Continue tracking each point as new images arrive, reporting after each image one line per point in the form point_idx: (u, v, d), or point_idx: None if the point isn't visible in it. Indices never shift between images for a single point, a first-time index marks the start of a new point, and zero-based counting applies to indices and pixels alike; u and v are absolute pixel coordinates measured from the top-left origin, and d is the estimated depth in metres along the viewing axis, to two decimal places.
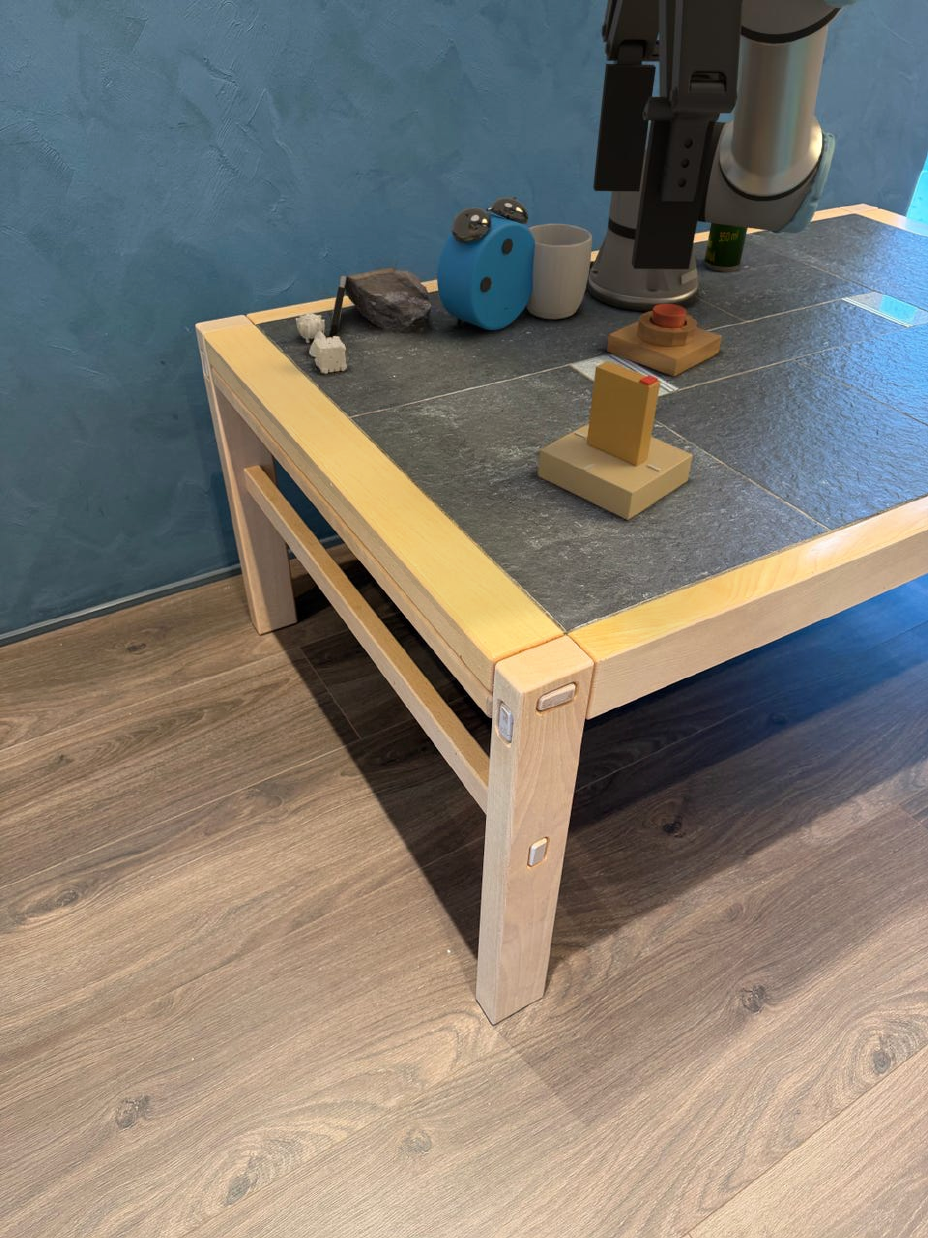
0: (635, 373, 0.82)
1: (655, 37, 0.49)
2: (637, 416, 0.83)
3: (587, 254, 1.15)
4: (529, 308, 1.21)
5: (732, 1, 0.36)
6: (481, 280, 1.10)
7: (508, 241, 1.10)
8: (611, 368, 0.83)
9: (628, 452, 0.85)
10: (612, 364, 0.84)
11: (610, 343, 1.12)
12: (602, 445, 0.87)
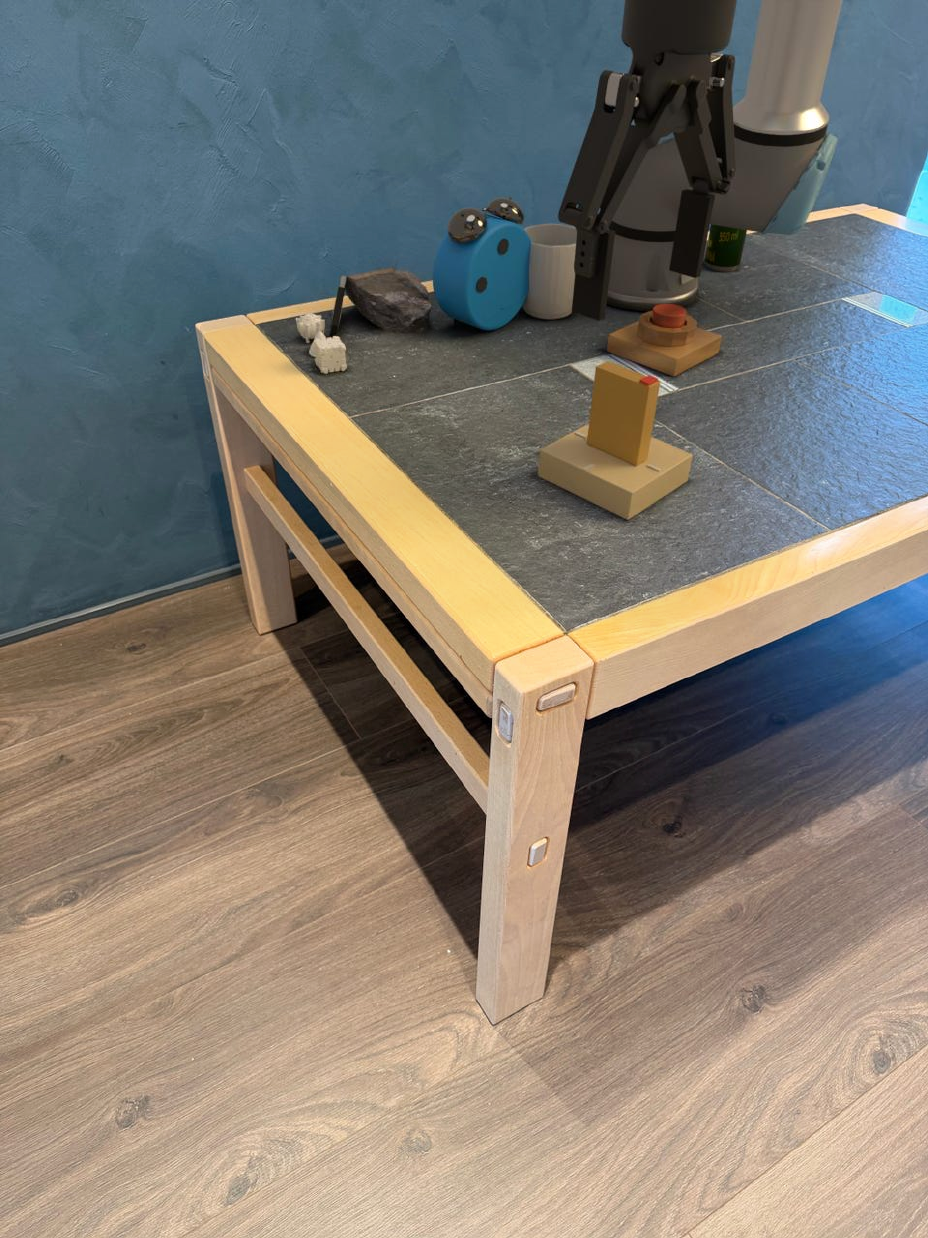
0: (635, 373, 0.82)
1: (709, 178, 0.73)
2: (637, 416, 0.83)
3: None
4: (525, 308, 1.21)
5: (598, 168, 0.62)
6: (476, 280, 1.10)
7: (504, 241, 1.10)
8: (611, 368, 0.83)
9: (628, 452, 0.85)
10: (612, 364, 0.84)
11: (610, 343, 1.12)
12: (602, 445, 0.87)
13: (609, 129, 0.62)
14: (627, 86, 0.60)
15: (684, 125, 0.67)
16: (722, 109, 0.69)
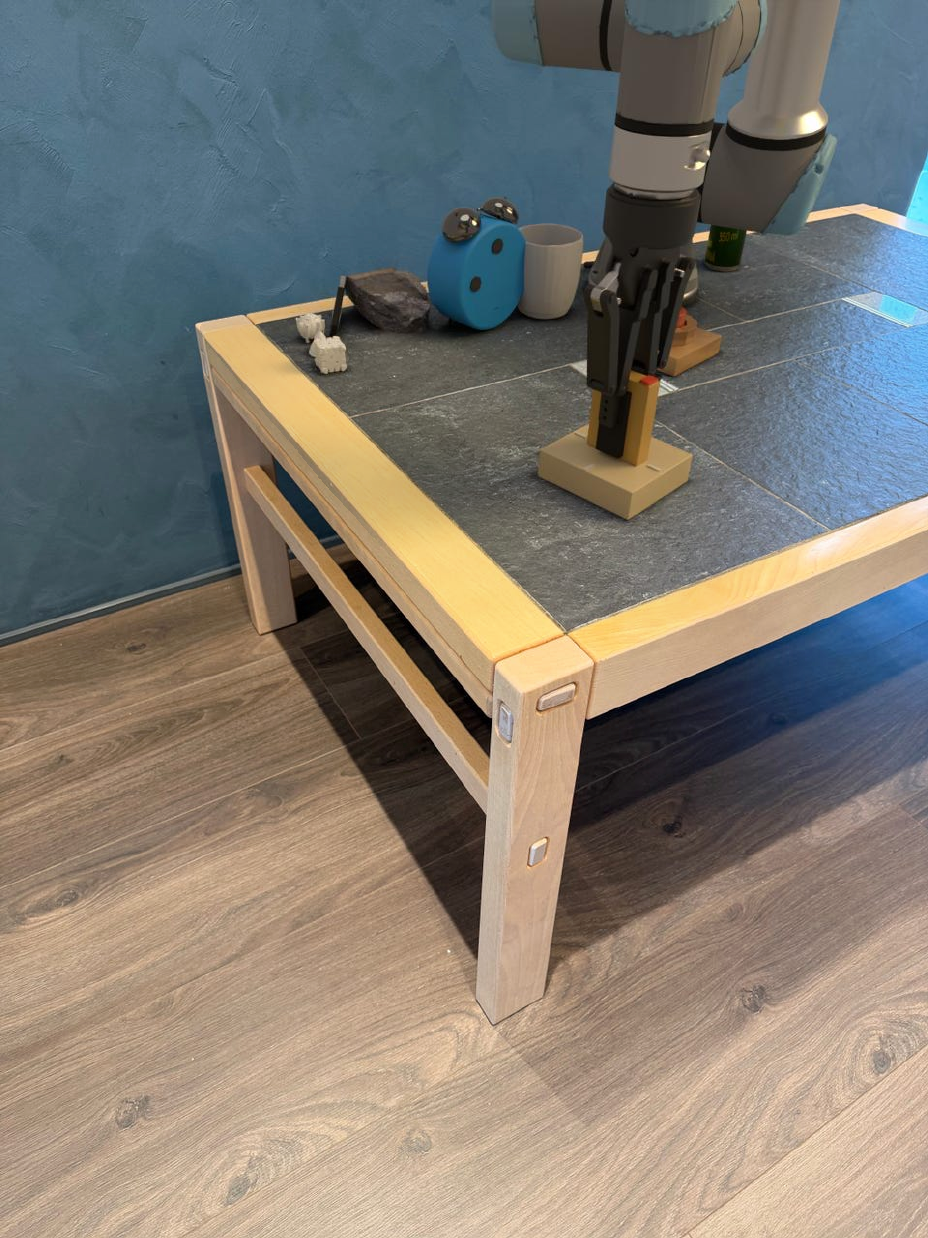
0: (635, 373, 0.82)
1: (648, 362, 0.82)
2: (637, 416, 0.83)
3: (578, 254, 1.15)
4: (520, 308, 1.21)
5: (605, 357, 0.77)
6: (470, 280, 1.10)
7: (498, 241, 1.10)
8: None
9: (628, 452, 0.85)
10: None
11: None
12: None
13: (604, 329, 0.75)
14: (606, 304, 0.73)
15: None
16: (675, 298, 0.80)
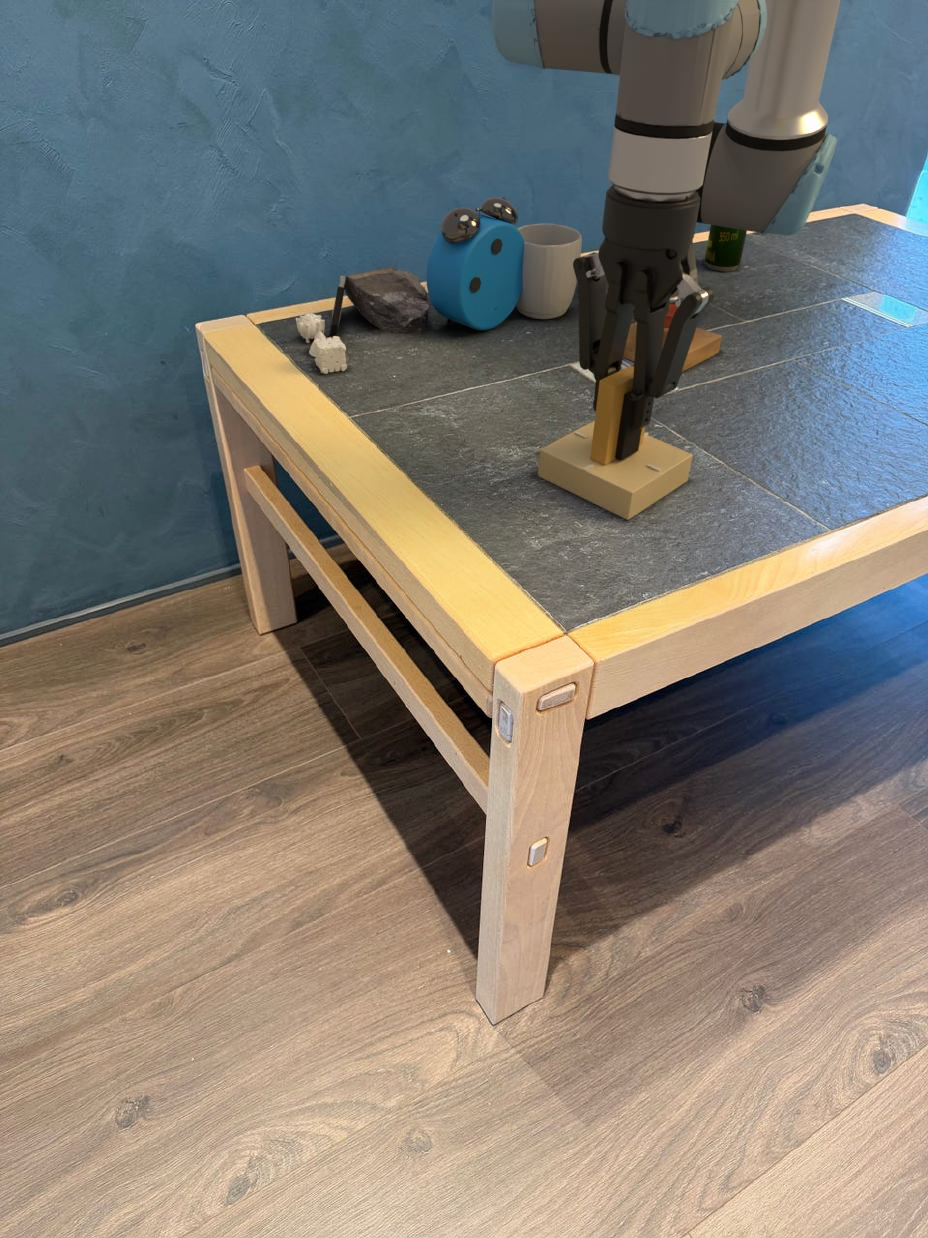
0: (626, 370, 0.83)
1: (622, 357, 0.83)
2: None
3: (577, 254, 1.15)
4: (519, 308, 1.21)
5: (684, 355, 0.78)
6: (470, 280, 1.10)
7: (497, 241, 1.10)
8: (618, 379, 0.81)
9: None
10: (608, 378, 0.81)
11: None
12: None
13: (692, 328, 0.76)
14: (711, 300, 0.74)
15: None
16: (605, 293, 0.81)
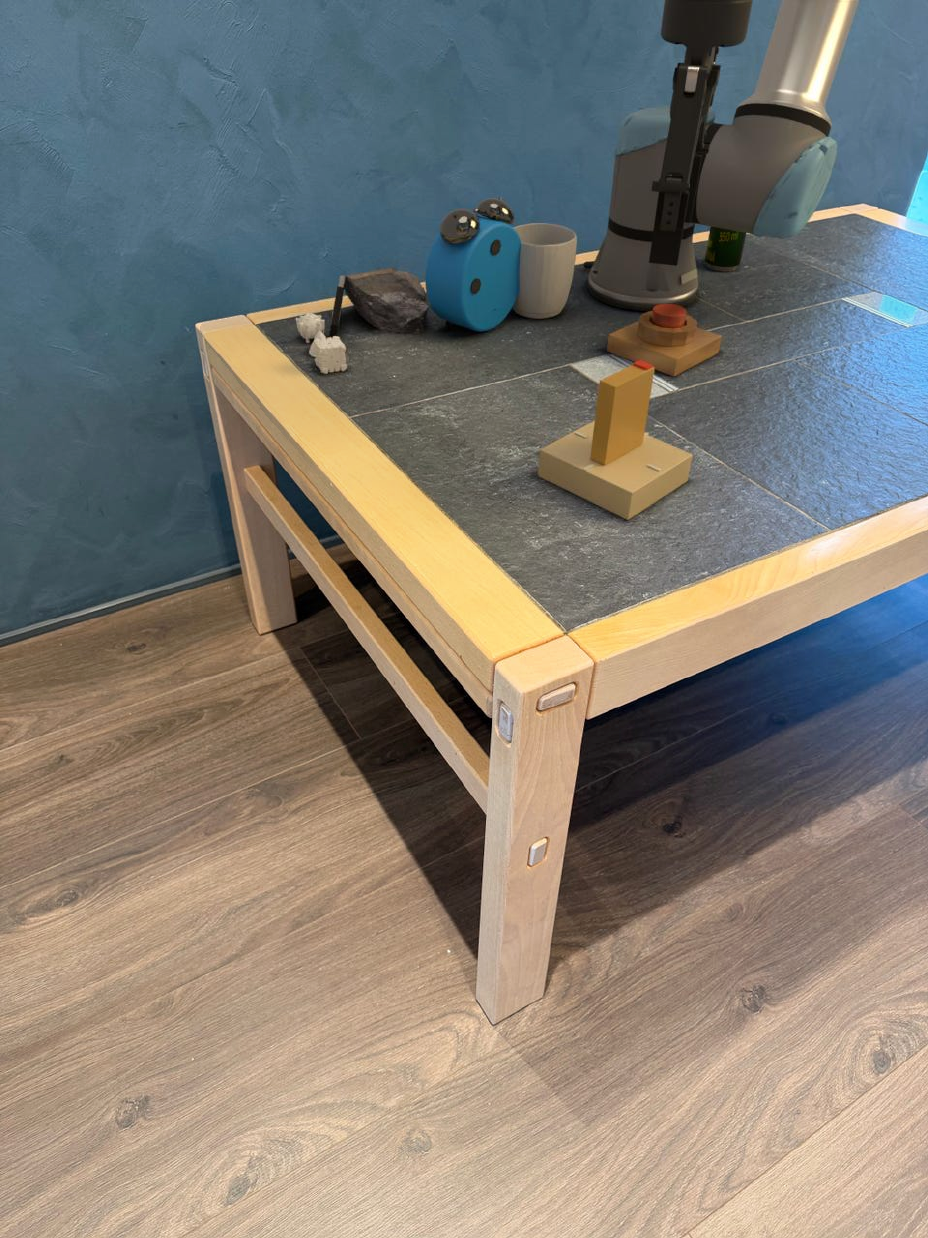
0: (626, 370, 0.83)
1: (701, 141, 0.92)
2: (645, 400, 0.85)
3: (573, 253, 1.16)
4: (515, 308, 1.21)
5: (689, 142, 0.79)
6: (471, 281, 1.09)
7: (496, 242, 1.09)
8: (618, 379, 0.81)
9: (637, 439, 0.87)
10: (608, 378, 0.81)
11: (610, 343, 1.12)
12: (617, 453, 0.86)
13: (693, 110, 0.78)
14: (706, 75, 0.77)
15: None
16: None
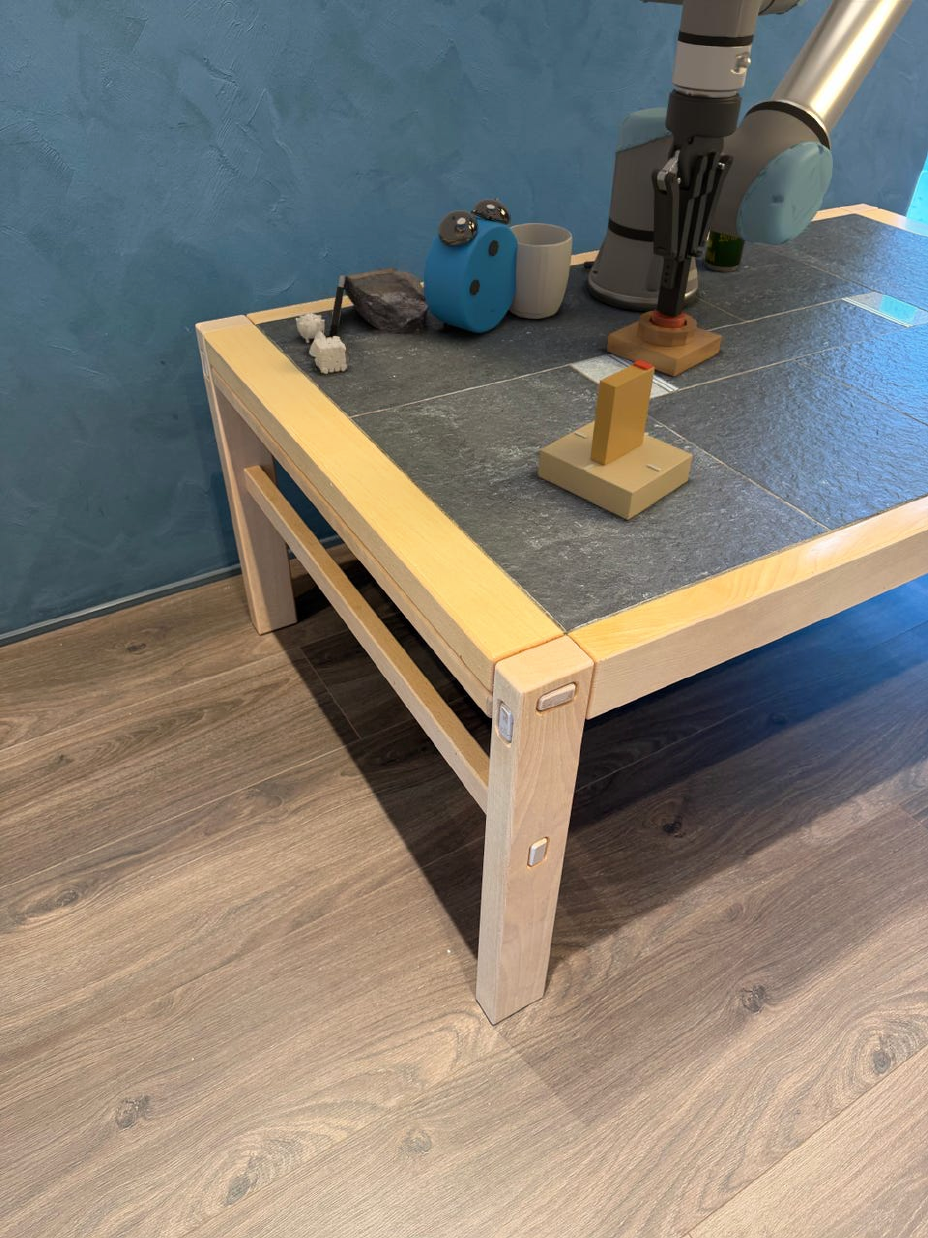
0: (626, 370, 0.83)
1: (692, 238, 1.04)
2: (645, 400, 0.85)
3: (569, 252, 1.16)
4: (512, 309, 1.20)
5: (668, 227, 1.00)
6: (470, 283, 1.09)
7: (494, 243, 1.09)
8: (618, 379, 0.81)
9: (637, 439, 0.87)
10: (608, 378, 0.81)
11: (610, 343, 1.12)
12: (617, 453, 0.86)
13: (667, 204, 0.98)
14: (670, 183, 0.95)
15: None
16: (716, 187, 1.02)
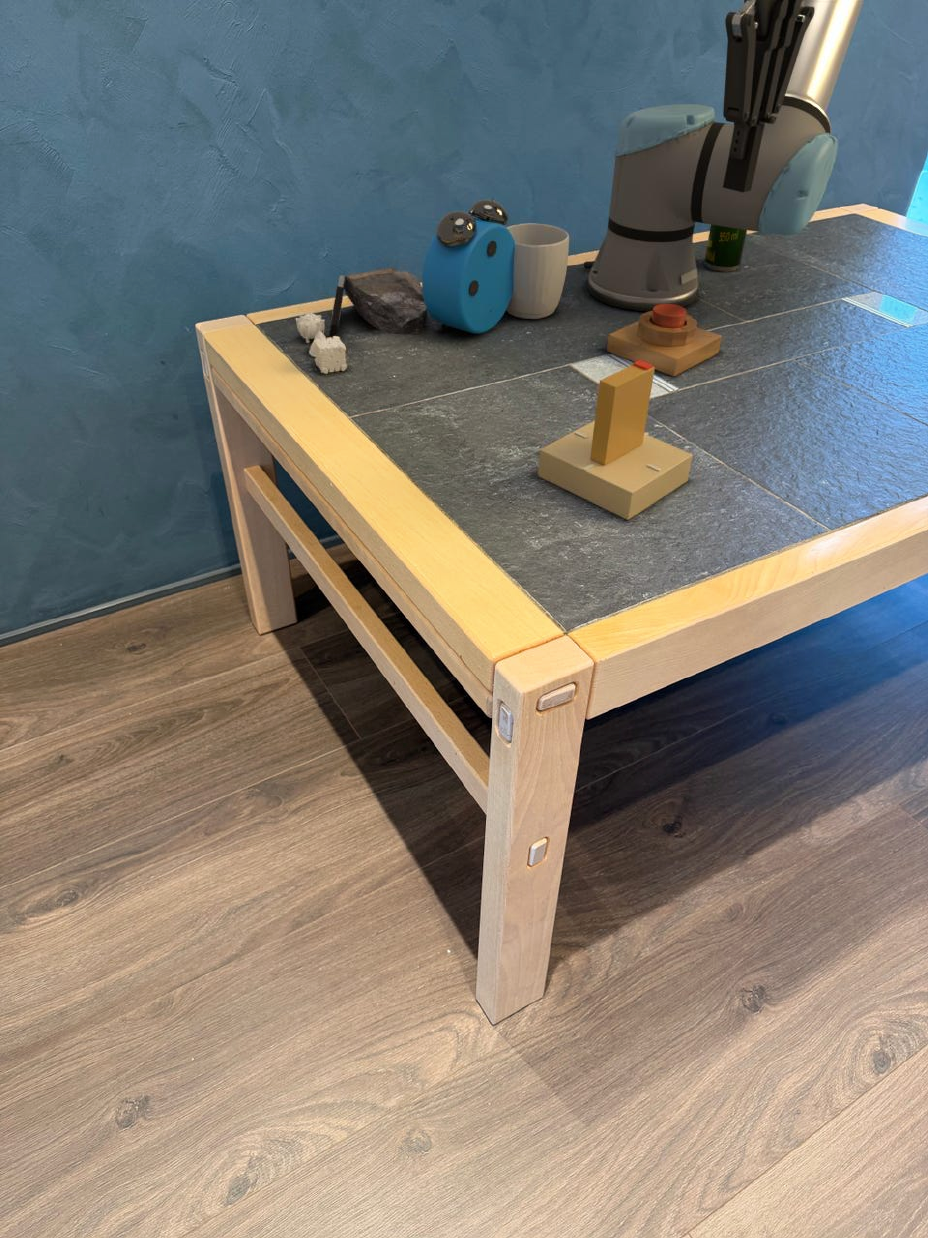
0: (626, 370, 0.83)
1: (766, 101, 0.95)
2: (645, 400, 0.85)
3: (566, 252, 1.16)
4: (509, 309, 1.20)
5: (742, 82, 0.91)
6: (469, 284, 1.09)
7: (492, 243, 1.09)
8: (618, 379, 0.81)
9: (637, 439, 0.87)
10: (608, 378, 0.81)
11: (610, 343, 1.12)
12: (617, 453, 0.86)
13: (742, 54, 0.89)
14: (746, 26, 0.86)
15: None
16: (795, 42, 0.93)
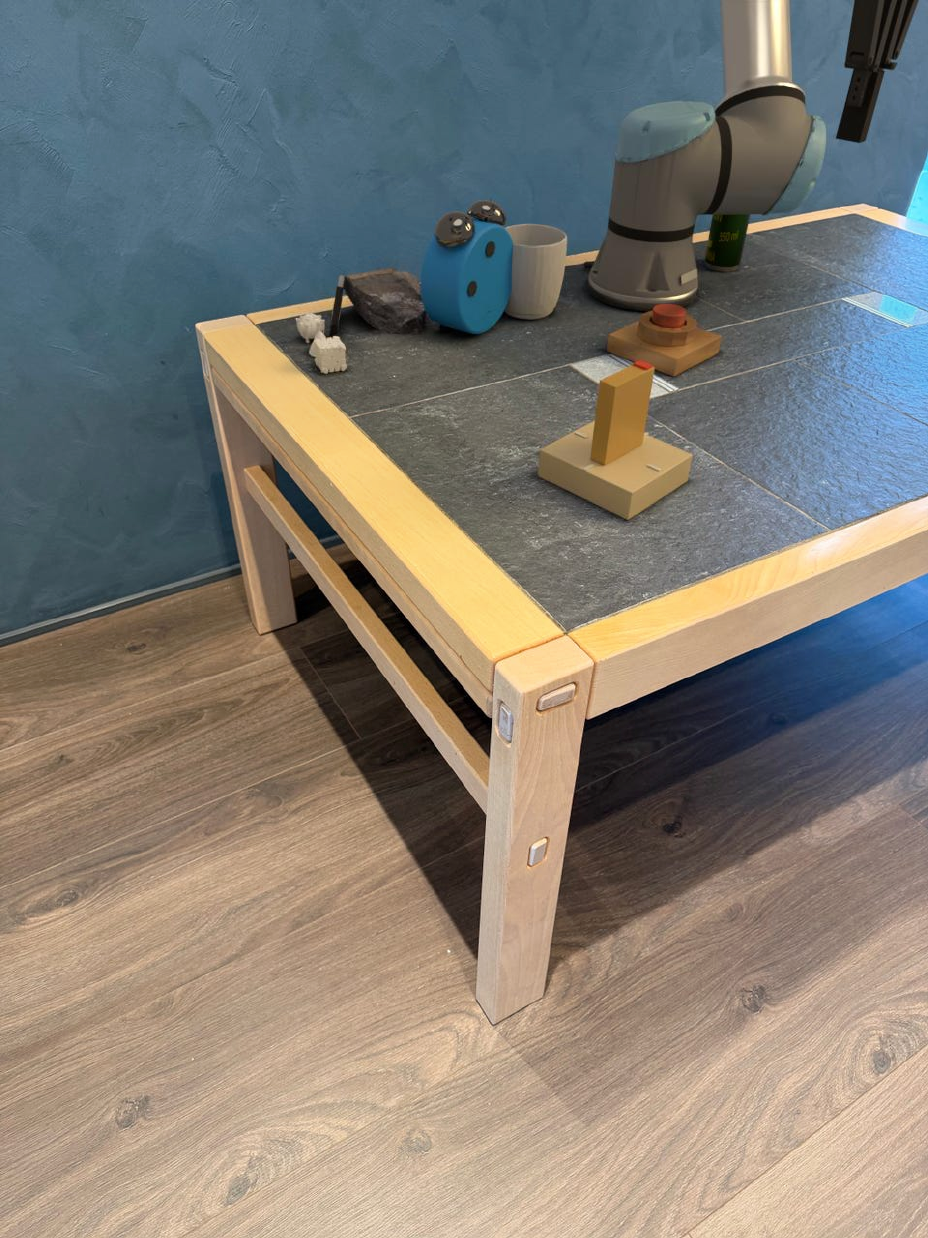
0: (626, 370, 0.83)
1: (888, 45, 0.91)
2: (645, 400, 0.85)
3: (564, 253, 1.16)
4: (507, 310, 1.20)
5: (870, 23, 0.87)
6: (467, 284, 1.08)
7: (491, 244, 1.09)
8: (618, 379, 0.81)
9: (637, 439, 0.87)
10: (608, 378, 0.81)
11: (610, 343, 1.12)
12: (617, 453, 0.86)
13: None
14: None
15: None
16: None
